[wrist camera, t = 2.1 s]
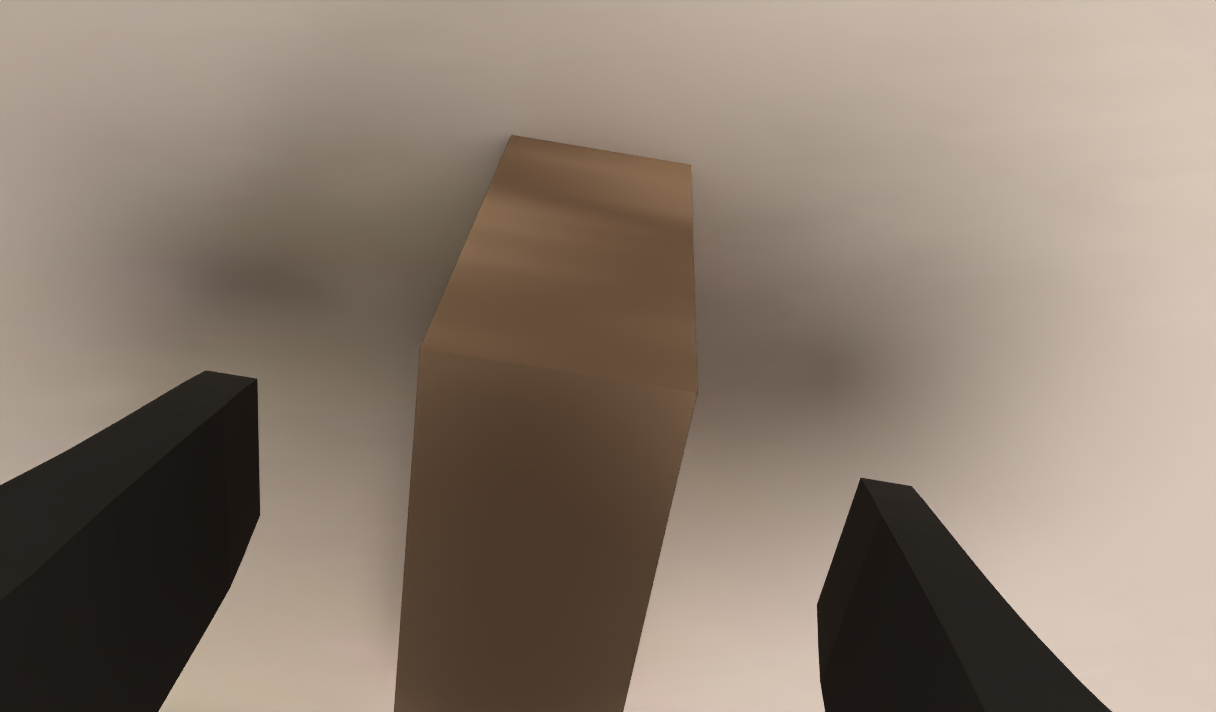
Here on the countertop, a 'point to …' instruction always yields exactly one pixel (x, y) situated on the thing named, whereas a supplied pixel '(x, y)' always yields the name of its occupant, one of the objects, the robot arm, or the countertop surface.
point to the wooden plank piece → (549, 435)
